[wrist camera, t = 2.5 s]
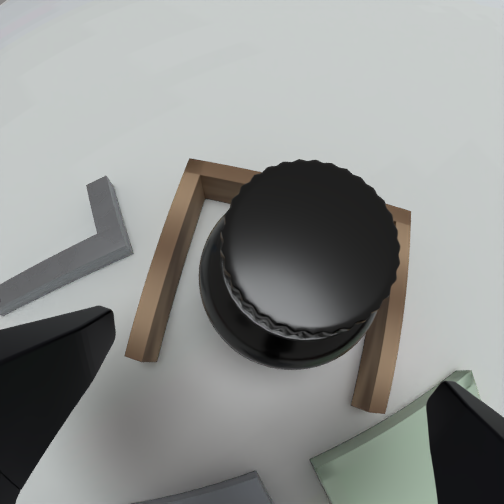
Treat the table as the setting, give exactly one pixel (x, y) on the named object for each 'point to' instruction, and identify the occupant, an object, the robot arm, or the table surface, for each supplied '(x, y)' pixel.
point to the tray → (387, 458)
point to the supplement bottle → (299, 265)
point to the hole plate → (223, 493)
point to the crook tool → (74, 253)
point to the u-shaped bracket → (174, 255)
